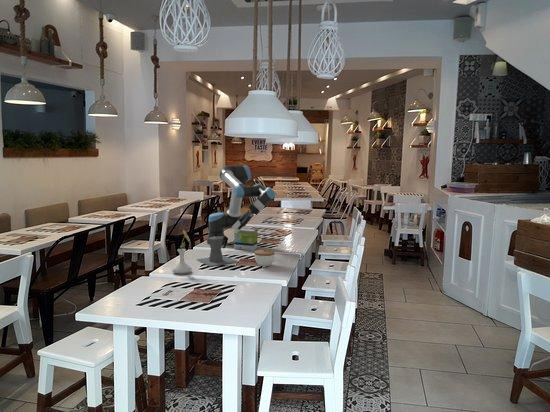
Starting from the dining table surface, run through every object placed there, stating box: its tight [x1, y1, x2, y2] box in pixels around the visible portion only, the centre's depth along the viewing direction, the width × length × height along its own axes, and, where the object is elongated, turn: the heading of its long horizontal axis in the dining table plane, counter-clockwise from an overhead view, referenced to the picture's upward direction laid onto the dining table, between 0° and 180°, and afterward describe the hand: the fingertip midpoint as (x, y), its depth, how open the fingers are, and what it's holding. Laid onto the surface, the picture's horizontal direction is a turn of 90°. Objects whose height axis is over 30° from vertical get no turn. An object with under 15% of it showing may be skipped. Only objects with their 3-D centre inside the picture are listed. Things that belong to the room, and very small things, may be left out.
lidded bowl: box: [254, 248, 275, 267], centre depth 272 cm, size 13×13×11 cm
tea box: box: [233, 227, 258, 251], centre depth 319 cm, size 15×10×15 cm, turn 73°
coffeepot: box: [206, 233, 229, 262], centre depth 282 cm, size 15×9×18 cm, turn 125°
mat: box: [196, 254, 239, 268], centre depth 283 cm, size 20×20×1 cm
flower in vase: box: [171, 230, 193, 275], centre depth 255 cm, size 13×11×25 cm
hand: (233, 230), depth 282 cm, fingers open, 13 cm apart
